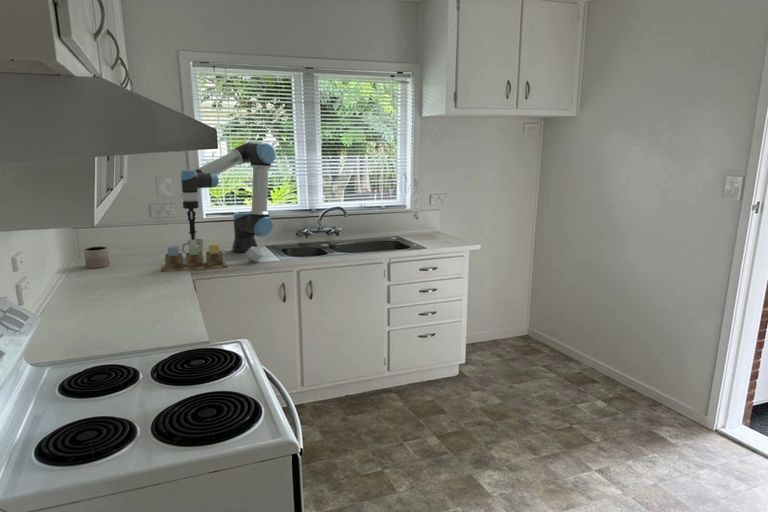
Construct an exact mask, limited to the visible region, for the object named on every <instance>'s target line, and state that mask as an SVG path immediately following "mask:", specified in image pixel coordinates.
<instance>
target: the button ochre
mask: <svg viewBox="0 0 768 512" xmlns="http://www.w3.org/2000/svg"><path fill="white" fill-rule="evenodd" d="M219 244H220V243H219V242H216V243H215V242H214V243H213V242H212V243H211V242H210V243H208V251H209V254H217V253H219V251H220V245H219Z"/></svg>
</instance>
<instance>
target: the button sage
mask: <svg viewBox="0 0 768 512" xmlns="http://www.w3.org/2000/svg"><path fill="white" fill-rule="evenodd" d="M188 252H189V255H199V245H196V246H191V245H189V246H188Z"/></svg>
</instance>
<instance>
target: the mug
mask: <svg viewBox="0 0 768 512" xmlns="http://www.w3.org/2000/svg"><path fill="white" fill-rule="evenodd" d="M189 245H191V242H190V239H188V240H187V242H184V243H183V244H182V246H181V251H182V253H184V254H185V255H186V253H188V252H187V251H186V250H185V246H188V247H189ZM196 245H199V252H202V254H204V253H203V251H204V239H201V238H196Z"/></svg>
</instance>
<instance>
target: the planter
mask: <svg viewBox="0 0 768 512" xmlns="http://www.w3.org/2000/svg"><path fill="white" fill-rule="evenodd" d="M108 250H109V249H108V247H107V246H90V247H86V248H84V249H83V253H84V261H85V262H84V263H85V267H86V268H88V269H103V268H106V267H108V266H109V265H110V258H109V257H110V256H109V251H108Z"/></svg>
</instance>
